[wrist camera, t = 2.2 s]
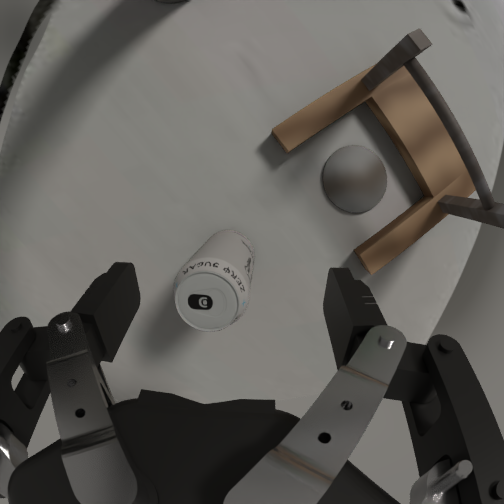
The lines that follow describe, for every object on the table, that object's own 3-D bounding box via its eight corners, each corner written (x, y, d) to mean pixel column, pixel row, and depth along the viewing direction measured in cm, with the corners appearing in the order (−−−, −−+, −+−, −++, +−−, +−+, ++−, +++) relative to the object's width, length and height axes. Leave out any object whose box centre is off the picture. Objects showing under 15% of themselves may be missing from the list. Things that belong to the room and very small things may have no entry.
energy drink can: (254, 278, 37) (246, 341, 22) (205, 276, 37) (169, 335, 22) (255, 229, 35) (249, 265, 21) (204, 228, 35) (164, 260, 21)
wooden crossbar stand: (271, 133, 33) (276, 96, 18) (388, 60, 29) (447, 8, 14) (365, 268, 36) (421, 323, 21) (466, 187, 33) (546, 199, 17)
